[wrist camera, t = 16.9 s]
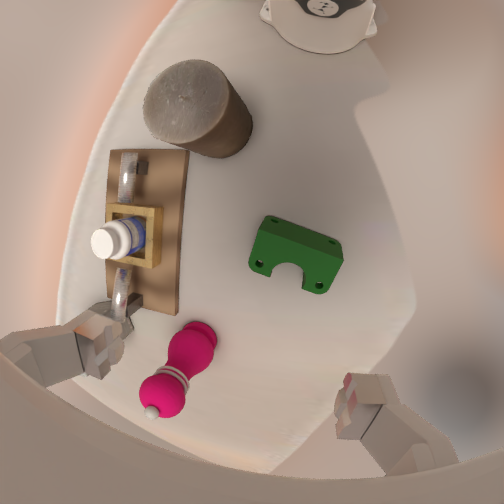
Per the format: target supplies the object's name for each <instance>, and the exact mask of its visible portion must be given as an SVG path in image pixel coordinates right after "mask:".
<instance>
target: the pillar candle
mask: <svg viewBox="0 0 504 504" xmlns="http://www.w3.org/2000/svg"><path fill="white" fill-rule="evenodd" d="M143 114H144V120H145V123H146V125H147V128H148V129H149V131H150V132H151V133H152V134H151V135H153V137H154V138H156V139H160V140H162V141H165V142H168V143H170V144H174V145H176V146H179V147H182V148H185V149H188V150H191V151H193V152H196V153H199V154H201V155H204V156H208V157H212V158H225V157H228V156H231V155H233V154H235V153H237V152H238V151H239V150H241V149H242V148H243V147H244V146H245V145H246V143H247V142H248V140H249V137H250V136H251V133H252V127H253V121H252V116H251V115H250V113H249V111H248V110H247V107H246V105H245V104H244V103H243V101H242V99H241V98H240V96H239V95H238V93H237V92H236V91H235V89H234V88H233V86H232V85H231V83H230V82H229V80H228V79H227V77H226V76H225V75H224V73H223V72H222V71H221V70H220V69H219V68H218V67H217V66H215V65H214V64H212V63H210V62H207V61H203V60H187V61H182V62H179V63H177V64H174V65H172V66H170V67H169V68H167V69H166V70H164V71H163V72H161V73H160V74H158V75H157V76H156V78H155V79H154V80H153V81H152V82H151V84H150V87H149V88H148V91H147V94H146V96H145V98H144V105H143Z"/></svg>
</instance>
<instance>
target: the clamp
mask: <svg viewBox="0 0 504 504" xmlns="http://www.w3.org/2000/svg"><path fill="white" fill-rule="evenodd" d="M258 260H261V261H262V263H261V262H259V261H258ZM343 261H344V259H343V253H342V247H341V244H340V243H339V242H338V241H336V240H335V239H332V238H330V237H327V236H325V235H322V234H319V233H317V232H314V231H311V230H309V229H306V228H303V227H301V226H298V225H295V224H292V223H290V222H287V221H284V220H281V219H279V218H276V217H272V216H266V217H265V218H264V220H263V222H262V224H261V226H260V228H259V230H258V233H257V236H256V239H255V242H254V245H253V249H252V252H251V255H250V258H249V262H248V263H249V267H250V268H251V269H252V270H253V271H254V272H257V273H259V274H262V275H265V276H267V277H270V276H271V273H272V269H273V268H274V267H275V266H276V265H278V264H280V263H284V262H289V263H294V264H296V265H298V266H300V267H301V268H302V269H303V271H304V273H303V282H302V289H304V290H306V291H309V292H312V293H315V294H323V293H325V292H327V291H328V290H329V288H330V286H331V284H332V282H333V280H334V278H335V276H336V274H337V272H338V271H339V269H340V267H341V265H342V263H343ZM317 282H322V283H317Z"/></svg>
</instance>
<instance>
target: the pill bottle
mask: <svg viewBox="0 0 504 504" xmlns="http://www.w3.org/2000/svg"><path fill="white" fill-rule="evenodd" d="M146 221H147V220H146V219H144V218H143V217H140V216H132V217H128V218H123V219H118V220H113V221H109V222H107V223H105V224H104V225H103V226H102V228H100V229H97V230H96V231H95V232H94V233H93V235H92V238H91V246H92V249H93V252H94V253H95V255H96V256H97V257H99V258H101V259H107V258H111V259H115V260H117V259H121V258H123V257H126V256H128V255H130V254H132V253H135V252H137V251H139V250H142V249H144V248H145V245H146Z"/></svg>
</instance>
